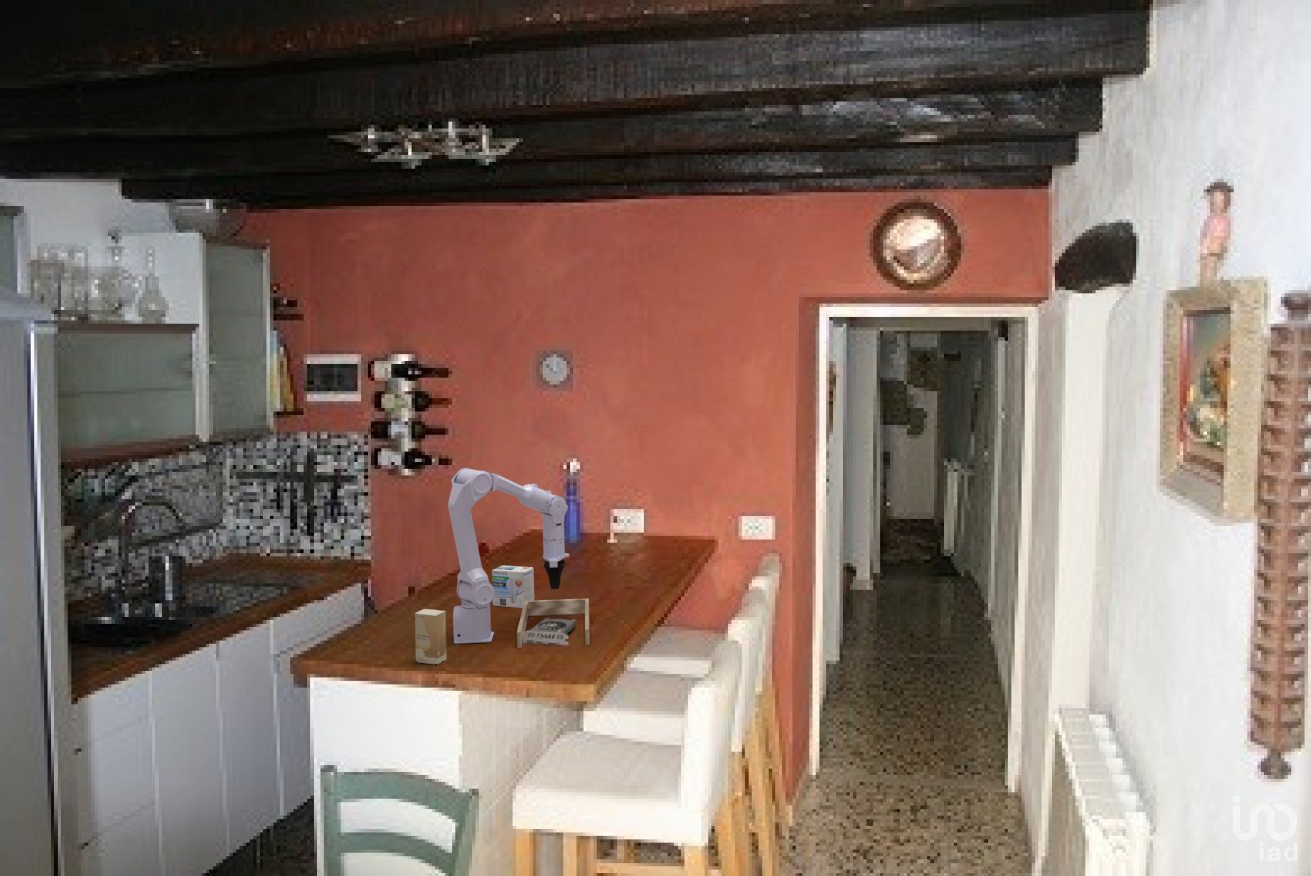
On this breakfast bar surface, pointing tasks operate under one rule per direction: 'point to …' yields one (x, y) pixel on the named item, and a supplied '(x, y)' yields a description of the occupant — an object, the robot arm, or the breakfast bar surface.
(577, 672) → the breakfast bar surface
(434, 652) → the skincare box
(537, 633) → the graphics card
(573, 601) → the wooden frame
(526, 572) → the light bulb box
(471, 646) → the breakfast bar surface
